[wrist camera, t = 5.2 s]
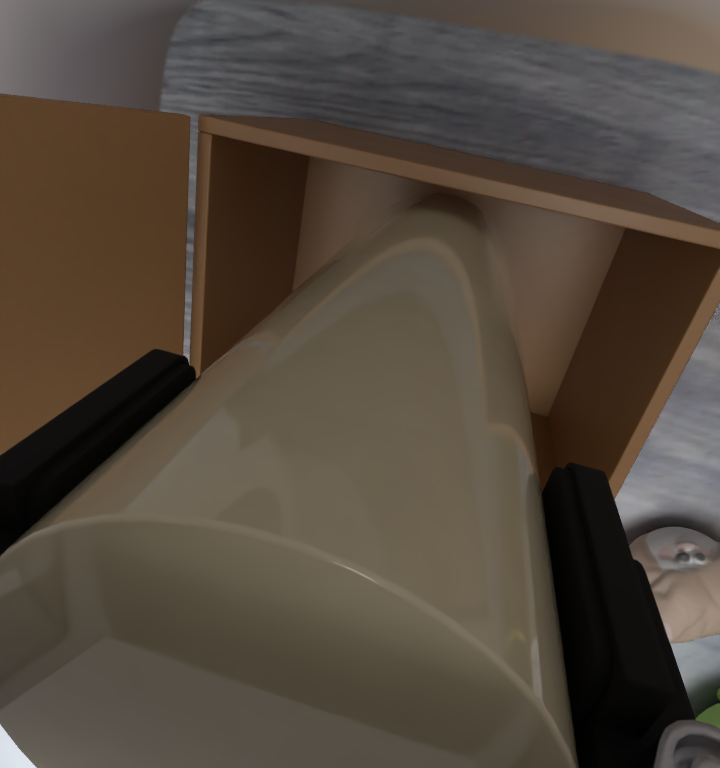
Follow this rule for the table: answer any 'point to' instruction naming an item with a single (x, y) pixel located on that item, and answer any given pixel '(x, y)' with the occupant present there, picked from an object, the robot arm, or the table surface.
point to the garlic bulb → (682, 580)
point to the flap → (86, 249)
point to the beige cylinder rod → (312, 541)
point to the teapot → (711, 714)
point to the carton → (527, 258)
